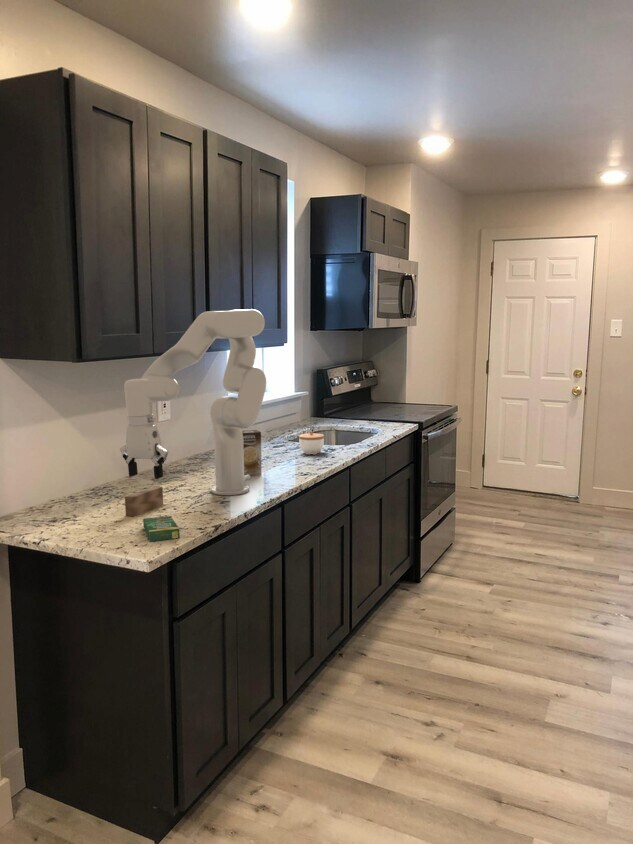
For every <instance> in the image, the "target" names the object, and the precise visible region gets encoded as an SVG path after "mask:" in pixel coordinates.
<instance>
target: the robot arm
mask: <svg viewBox="0 0 633 844" xmlns="http://www.w3.org/2000/svg"><path fill="white" fill-rule="evenodd" d="M265 322H266V321H265V318H264V315H263V314H262V312H260V311H259V310H257V309H253V308H251V309H248V308H247V309H231V310H211V311H210V310H209V311H208V310H207V311H203V312H202V313H200V314H199V315H198V316H197V317H196V318H195V320H194V321H193V322H192V323H191V324H190V325H189V327H188V328H187V330H186V331H185V333H183V335H182V336H181V337H180V339H179V340H178V341H177V342H176V343H175V344H174V346H172V347H170V348H169V349H168V350H167V351H165V352H164V353H163V354H161V355H160V356H159V357H158V358H156V359H155V360H154V361H153V362H152V363H151V364H150V366H149V367H148V368H147V369H146V370H145V371H144V373H143V375H142V376H141V377H140V378H132V379H128V380H126V381H125V382H124V386H123V387H124V396H125V408H126V417H127V426H126V433H125V434H126V435H125V445H123V446H122V447H120V448H119V451H120V454H121V455H122V458H123V459H124V460H125V464H127V469H128V477H130V478H132V477H135V476H137V475H138V474H139V473H138V463H137V461H136V460H139V459H140V460H151V461H152V463H153V464H154V466H153V473H154V474H153V475H154V479H155V480H160V479H161V478H163V477H164V468H163V465H164V463H165V461H166V460H167V457H168V454H169V450H167V449H166V448H164V447H163V445H162V441H161V435H160V432H159V428H158V425H157V424H155V423H156V421H157V419H156V417H154V407H153V402H169V401H171V400H173V399H175V398H176V397H177V396H178V394H179V392H180V385H179V383H178V381H177V380H176V379H175V378H173V377H172V376H174V375H175V374H176V373H177V372H179V371H181V370H183V369H185V368H189V367H190V366H193V365H195V364H197V363H199V361H200V360H201V359H202V357H203V356H204V354H206V352H207V351H208V349H209V348H210V346H211V345H212V344H213V343H214V341H215V340H216V339H224V340H225V339H228V341H229V346H230V348H229V349H230V350H229V353H228V354H229V355H228V359H227V363H226V367H225V370H224V373H223V378H222V386H223V388H224V389H225V391H227V392H228V393H231V394H237V397H236V396H228V395H227V396H225V395H224V396H221V397H217V398H216V399H215V400H213V402H212V404H211V406H210V410H209V411H210V414H209V415H210V419H211V423H212V429H213V430H212V431H213V437H214V439H213V442H214V443H213V445H214V467H215V468H214V470H215V485H214V486H212V487H211V488H210V489H211V490H210V492H211V493H212V494H214V495H217V496H218V495H219V496H237V495H243V494H245V493H248V492H249V491H250V486H249V485H248V484H246V482H247V481H250V479H251V476H250V475H248V474H247V475H244V450H243V434H242V431H243V429H249V428H251V427H252V426H254V424H256V422H257V420H258V418H259V415H260V411H261V409H262V406H263V405H262V404H263V400H264V396H265V392H266V389H267V378H266V374H265V372H264V371H263V369H261V368H260V367H259V366H255V365H254V364H255V361H256V355H257V348H256V344H255V341H254V338H253V337H256V336H258V335H260V334H261V333H262V332H263V331H264V329H265V325H266V323H265Z"/></svg>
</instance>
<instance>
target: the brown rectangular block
mask: <svg viewBox="0 0 633 844" xmlns="http://www.w3.org/2000/svg"><path fill="white" fill-rule="evenodd" d="M163 489H164V488H163V486H160V485H159V486H158V485H155V486H152V487H150V488H147V489H144V490H140V491H137V492H135V493H132V494H129V495H125V496H124V504H125V506H124V507H125V508H124V509H125V517H130V518H134V517H137V516H139V515H142V514H145V513H147V512H149V511H152V510H154V509H158V508H160V507H163V506H164V493H163V492H164V491H163Z"/></svg>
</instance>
